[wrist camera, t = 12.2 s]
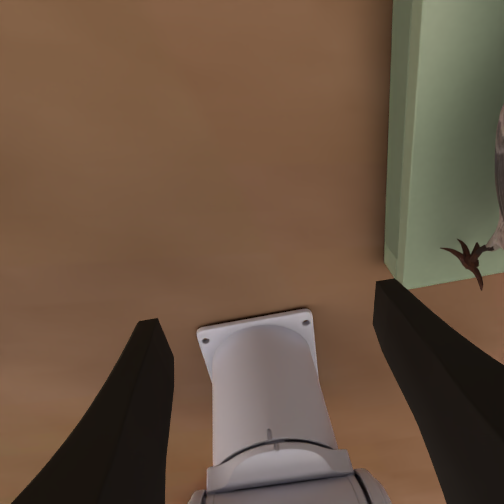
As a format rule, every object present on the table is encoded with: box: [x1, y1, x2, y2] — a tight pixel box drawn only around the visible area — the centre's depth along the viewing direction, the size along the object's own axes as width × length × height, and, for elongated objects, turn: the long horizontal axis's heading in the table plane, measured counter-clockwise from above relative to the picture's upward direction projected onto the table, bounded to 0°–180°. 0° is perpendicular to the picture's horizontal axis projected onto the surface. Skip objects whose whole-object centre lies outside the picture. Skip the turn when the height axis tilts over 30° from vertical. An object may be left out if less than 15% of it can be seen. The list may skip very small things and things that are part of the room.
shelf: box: [384, 0, 504, 290], centre depth 19 cm, size 19×10×3 cm, turn 9°
